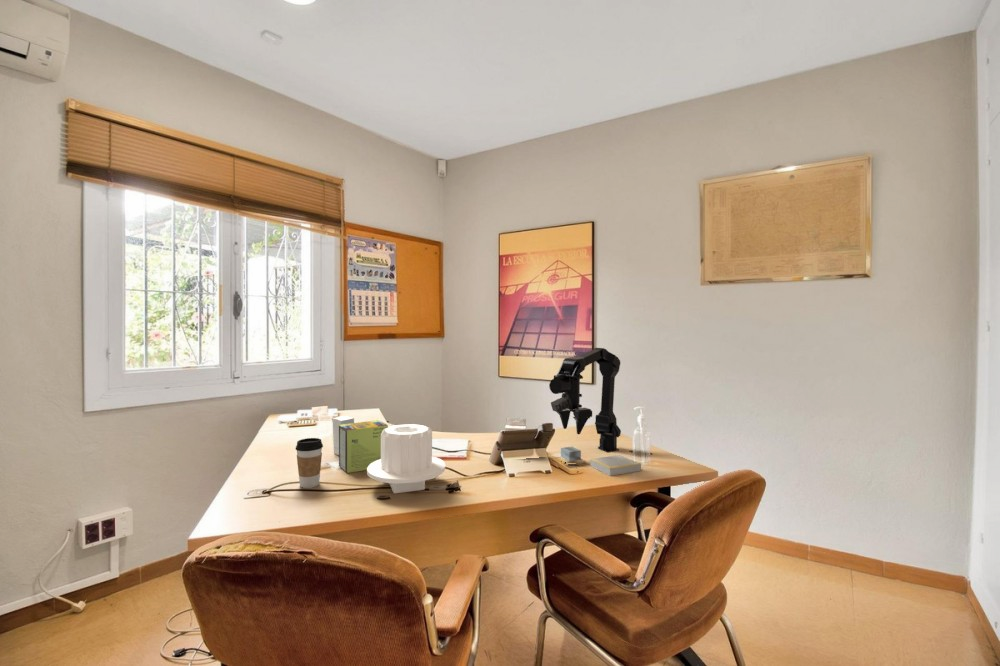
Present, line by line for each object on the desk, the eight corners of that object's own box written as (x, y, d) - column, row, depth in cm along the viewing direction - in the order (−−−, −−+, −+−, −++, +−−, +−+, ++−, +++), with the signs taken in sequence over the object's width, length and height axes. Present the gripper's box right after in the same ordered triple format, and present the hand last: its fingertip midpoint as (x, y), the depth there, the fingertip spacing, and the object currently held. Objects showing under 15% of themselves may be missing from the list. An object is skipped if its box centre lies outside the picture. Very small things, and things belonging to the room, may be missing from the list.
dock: (619, 461, 181) (619, 454, 181) (641, 470, 170) (641, 463, 170) (589, 465, 175) (590, 458, 175) (609, 475, 164) (610, 468, 164)
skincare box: (355, 455, 187) (355, 418, 186) (341, 458, 182) (341, 420, 182) (346, 450, 193) (346, 414, 192) (332, 453, 188) (331, 416, 188)
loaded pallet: (574, 458, 184) (574, 446, 184) (582, 463, 179) (582, 450, 179) (558, 460, 181) (558, 448, 181) (567, 465, 176) (567, 452, 176)
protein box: (388, 466, 173) (388, 424, 173) (346, 473, 165) (346, 430, 164) (378, 458, 182) (378, 419, 181) (338, 465, 173) (338, 424, 173)
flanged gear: (363, 478, 160) (363, 423, 159) (434, 470, 169) (435, 418, 168) (372, 506, 137) (371, 442, 136) (454, 494, 146) (454, 435, 145)
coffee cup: (296, 491, 148) (296, 444, 147) (294, 482, 155) (294, 438, 155) (324, 486, 152) (324, 441, 151) (321, 478, 159) (321, 435, 159)
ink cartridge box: (504, 456, 186) (504, 420, 185) (505, 453, 191) (505, 417, 190) (525, 457, 185) (525, 420, 185) (526, 453, 190) (526, 418, 190)
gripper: (541, 388, 184) (541, 428, 184) (567, 396, 167) (567, 439, 168) (565, 387, 189) (565, 425, 189) (593, 394, 172) (592, 436, 172)
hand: (571, 431), depth 179 cm, fingers open, 9 cm apart
